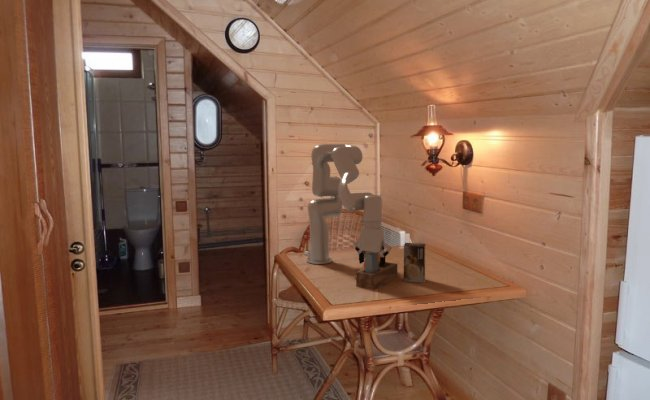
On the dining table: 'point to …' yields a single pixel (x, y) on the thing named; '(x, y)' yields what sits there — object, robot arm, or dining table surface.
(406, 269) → the coffee box
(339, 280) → the dining table surface
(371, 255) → the blue gray rectangular block
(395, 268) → the wooden compartment box
